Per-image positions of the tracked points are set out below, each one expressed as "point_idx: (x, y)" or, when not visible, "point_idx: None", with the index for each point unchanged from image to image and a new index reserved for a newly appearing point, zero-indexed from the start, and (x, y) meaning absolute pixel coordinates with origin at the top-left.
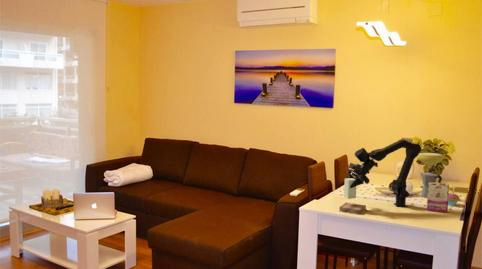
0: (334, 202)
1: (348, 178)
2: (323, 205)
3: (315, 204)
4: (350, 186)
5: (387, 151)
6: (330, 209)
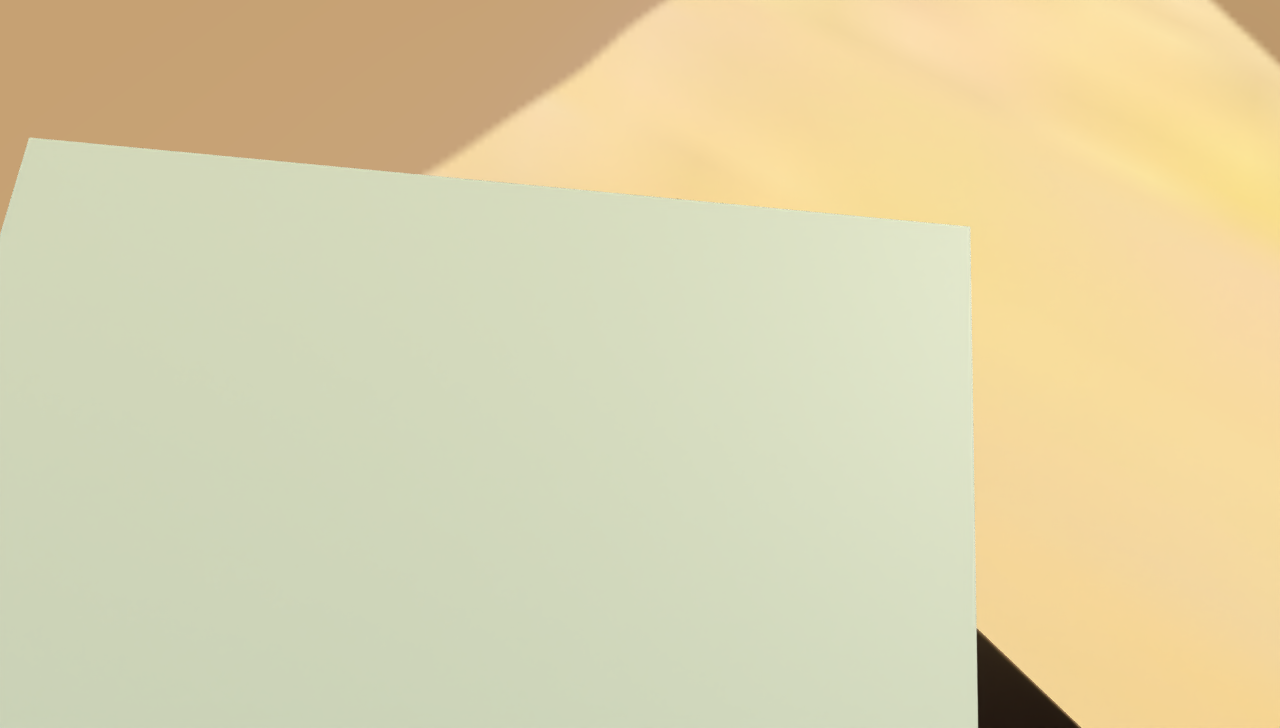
0: (1263, 628)
1: (907, 664)
2: (1025, 213)
3: (1141, 90)
4: None
5: None
6: (663, 193)
